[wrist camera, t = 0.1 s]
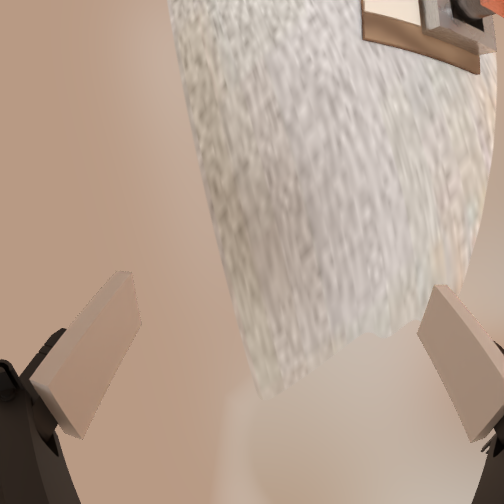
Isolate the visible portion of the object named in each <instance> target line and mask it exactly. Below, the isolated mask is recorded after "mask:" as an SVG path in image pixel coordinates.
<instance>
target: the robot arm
mask: <svg viewBox="0 0 504 504" xmlns="http://www.w3.org/2000/svg"><path fill="white" fill-rule="evenodd" d="M141 325H142V322H141V318H140V313H139V308H138V303H137V298H136V292H135V287H134V281H133V276H132V272H124V271H116V272H115V273H114V274H113V275H112V277H111V278H110V279H109V280H108V281H107V282H106V283H105V284H104V286H103V287H102V288H101V289H100V290H99V291H98V292H97V294H96V295H95V296H94V297H93V298H92V299H91V301H90V302H89V303H88V304H87V305H86V307H85V308H84V309H83V310H82V311H81V313H80V314H79V315H78V316H77V318H76V319H75V320H74V321H73V322H72V324H71V325H70V326H69V327H68V329H64V328H61V329H60V330H58V331H57V332H56V333H54V334H53V335H51V337H50V338H49V339H48V340H47V342H46V343H45V344H44V346H43V347H42V348H41V349H40V350H39V353H37V354H36V356H35V357H34V358H33V359H32V361H31V362H30V363H29V365H28V366H27V367H26V369H25V370H24V371H23V373H22V374H21V375H20V377H18V375H17V373H16V371H15V370H14V368H13V366H12V364H11V363H9V362H8V361H7V360H2V359H1V360H0V504H81V502H80V500H79V498H78V495H77V493H76V490H75V488H74V485H73V482H72V480H71V477H70V474H69V471H68V468H67V465H66V462H65V459H64V456H63V453H62V449H61V446H60V442H59V439H58V436H57V434H56V432H55V428H56V426H57V424H59V426H60V427H61V428H62V430H63V431H64V433H66V434H68V435H71V436H74V437H77V438H79V439H82V440H83V438H84V436H85V434H86V432H87V430H88V428H89V425H90V423H91V421H92V419H93V417H94V415H95V413H96V411H97V409H98V407H99V405H100V403H101V401H102V399H103V397H104V395H105V393H106V391H107V389H108V387H109V385H110V383H111V381H112V379H113V377H114V375H115V373H116V371H117V369H118V367H119V365H120V364H121V362H122V360H123V358H124V356H125V354H126V352H127V351H128V349H129V347H130V345H131V343H132V341H133V340H134V338H135V336H136V334H137V332H138V330H139V329H140V327H141ZM417 335H418V337H419V339H420V340H421V342H422V344H423V346H424V347H425V349H426V351H427V353H428V355H429V357H430V358H431V360H432V362H433V364H434V366H435V368H436V370H437V372H438V374H439V376H440V378H441V380H442V382H443V384H444V386H445V388H446V390H447V392H448V394H449V396H450V398H451V400H452V402H453V404H454V406H455V409H456V411H457V413H458V415H459V417H460V419H461V422H462V424H463V426H464V428H465V431H466V433H467V435H468V438H469V440H470V443H472V442H475V441H477V440H480V439H483V438H485V437H486V436H487V435H488V434H489V433H490V431H491V430H492V429H493V428H494V429H495V431H496V434H495V435H494V436H493V437H492V438H491V439H490V440H489V441H488V442H487V443H486V445H485V446H484V447H483V448H482V450H481V452H483V451H484V450H485V449H486V448H487V447H488V446H490V448H489V450H488V451H487V452H486V454H488V455H487V459H486V463H485V466H484V469H483V473H482V476H481V479H480V482H479V485H478V488H477V490H476V493H475V496H474V499H473V502H472V504H504V349H503V348H502V347H501V346H500V345H498V344H497V343H496V342H495V341H493V340H492V339H491V338H490V336H489V335H488V334H487V332H486V331H485V330H484V328H483V327H482V326H481V325H480V324H479V322H478V321H477V320H476V318H475V317H474V316H473V315H472V313H471V312H470V311H469V310H468V309H467V307H465V305H464V304H463V303H462V302H461V300H460V299H459V298H458V297H457V296H456V294H455V293H454V292H453V291H452V290H451V289H450V288H449V287H448V285H434V287H433V290H432V293H431V296H430V299H429V302H428V305H427V308H426V311H425V314H424V316H423V319H422V322H421V325H420V327H419V330H418V332H417Z"/></svg>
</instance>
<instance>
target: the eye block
mask: <svg viewBox="0 0 504 504" xmlns="http://www.w3.org/2000/svg"><path fill="white" fill-rule="evenodd" d="M419 3H420V12H421V23H422V34H424V35H427V36H430V37H433V38H436V39H439V40H441V41H444V42H447V43H449V44H452V45H454V46H457V47H459V48H461V49H464V50H466V51H468V52H471V53H473V54H475V55H482V54H487V53H493V52H497V48H496V39H495V31H494V24H493V18H492V15H490V16H487V17H484V18H481V19H478V20H475V21H472V22H470V23H464V22H462V21H460V20H458V19H455V18H453V17H452V10H451V3H450V0H419Z"/></svg>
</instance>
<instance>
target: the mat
mask: <svg viewBox="0 0 504 504" xmlns="http://www.w3.org/2000/svg"><path fill="white" fill-rule="evenodd" d="M363 3H364V12H365V13H370V14H374V15H379V16H383V17H387V18H391V19H394V20H398V21H402V22H405V23H408V24H412V25H415V26H418V27H419V26H421V23H420V13H419V3H418V0H363Z"/></svg>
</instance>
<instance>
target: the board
mask: <svg viewBox="0 0 504 504" xmlns="http://www.w3.org/2000/svg"><path fill="white" fill-rule="evenodd" d="M418 3H419V0H418ZM361 7H362V31H363V40H367V41H372V42H376V43H381V44H385V45H389V46H393V47H397V48H401V49H405V50H408V51H412V52H415V53H419V54H422V55H425V56H428V57H431V58H434V59H437V60H440V61H443V62H446V63H449V64H451V65H454V66H457V67H459V68H462V69H464V70H467V71H469V72H472V73H474V74H476V75H478V74H480V58H479V55H475V54H473V53H471V52H468V51H466V50H464V49H461V48H459V47H457V46H454V45H452V44H449V43H447V42H444V41H441V40H439V39H436V38H433V37H430V36H427V35H424V34H422V23H421V12H420V3H419V13H420V23H421V26H419V27H418V26H415V25H412V24H408V23H405V22H402V21H398V20H394V19H391V18H387V17H383V16H379V15H374V14H370V13H365V12H364V3H363V0H361Z"/></svg>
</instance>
